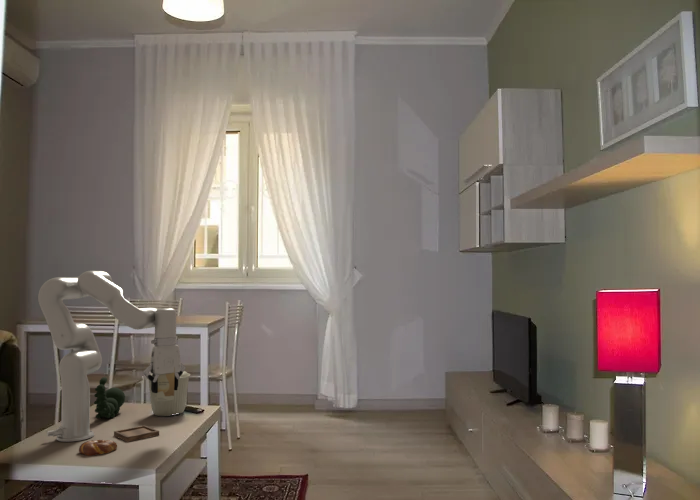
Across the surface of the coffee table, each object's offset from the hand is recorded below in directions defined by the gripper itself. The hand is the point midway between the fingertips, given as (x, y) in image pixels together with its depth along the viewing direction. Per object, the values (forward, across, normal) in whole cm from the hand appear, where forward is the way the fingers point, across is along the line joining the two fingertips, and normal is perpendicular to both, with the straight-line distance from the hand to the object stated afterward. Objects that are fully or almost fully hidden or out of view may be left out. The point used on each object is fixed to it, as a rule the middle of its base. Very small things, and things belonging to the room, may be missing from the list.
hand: (164, 390), depth 211 cm
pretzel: (+18, -22, +3) cm, 29 cm away
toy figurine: (+18, +1, +52) cm, 55 cm away
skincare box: (+4, 0, 0) cm, 4 cm away
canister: (+18, +20, +37) cm, 45 cm away
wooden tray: (+18, -5, +13) cm, 22 cm away
